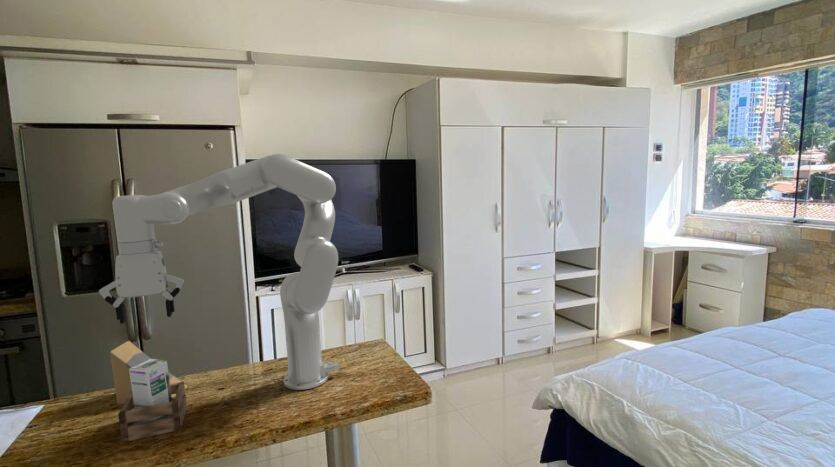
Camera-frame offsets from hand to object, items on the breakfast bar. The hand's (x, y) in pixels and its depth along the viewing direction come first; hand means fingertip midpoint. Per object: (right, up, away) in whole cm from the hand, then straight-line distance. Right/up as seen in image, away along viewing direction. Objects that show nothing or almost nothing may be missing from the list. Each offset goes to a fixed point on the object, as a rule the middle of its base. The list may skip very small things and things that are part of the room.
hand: (147, 318), depth 106 cm
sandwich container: (-9, -25, +18) cm, 32 cm away
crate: (+1, -26, +3) cm, 26 cm away
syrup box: (+1, -26, +3) cm, 26 cm away
